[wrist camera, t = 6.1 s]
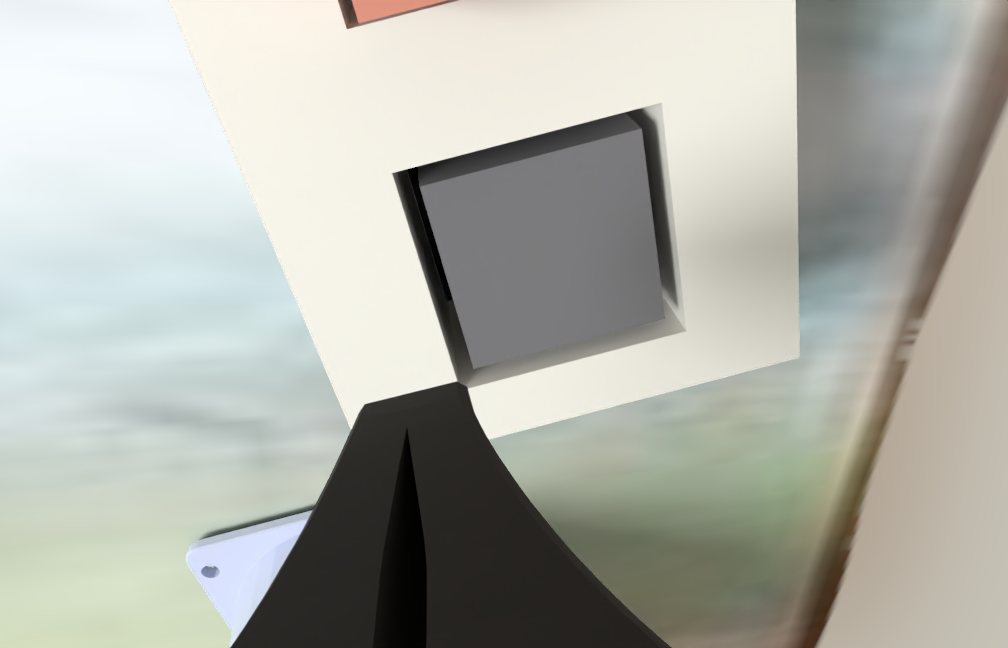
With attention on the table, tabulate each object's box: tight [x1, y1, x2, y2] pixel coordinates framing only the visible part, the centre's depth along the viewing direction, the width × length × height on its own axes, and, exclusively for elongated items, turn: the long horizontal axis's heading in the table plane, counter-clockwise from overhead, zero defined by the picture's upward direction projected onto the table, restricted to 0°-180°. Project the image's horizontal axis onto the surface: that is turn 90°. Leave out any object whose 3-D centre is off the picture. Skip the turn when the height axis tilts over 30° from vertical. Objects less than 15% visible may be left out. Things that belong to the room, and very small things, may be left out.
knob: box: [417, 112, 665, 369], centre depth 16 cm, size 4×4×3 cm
